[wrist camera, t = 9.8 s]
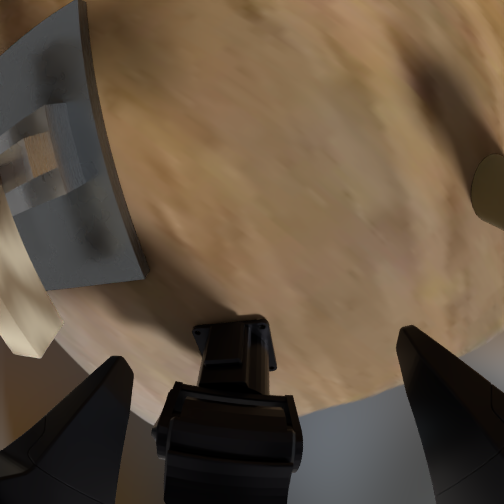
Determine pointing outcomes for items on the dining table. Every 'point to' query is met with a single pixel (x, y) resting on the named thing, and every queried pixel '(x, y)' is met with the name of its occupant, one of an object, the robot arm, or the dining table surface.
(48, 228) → the fulcrum
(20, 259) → the beige long bar
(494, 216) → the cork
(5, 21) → the dining table surface
